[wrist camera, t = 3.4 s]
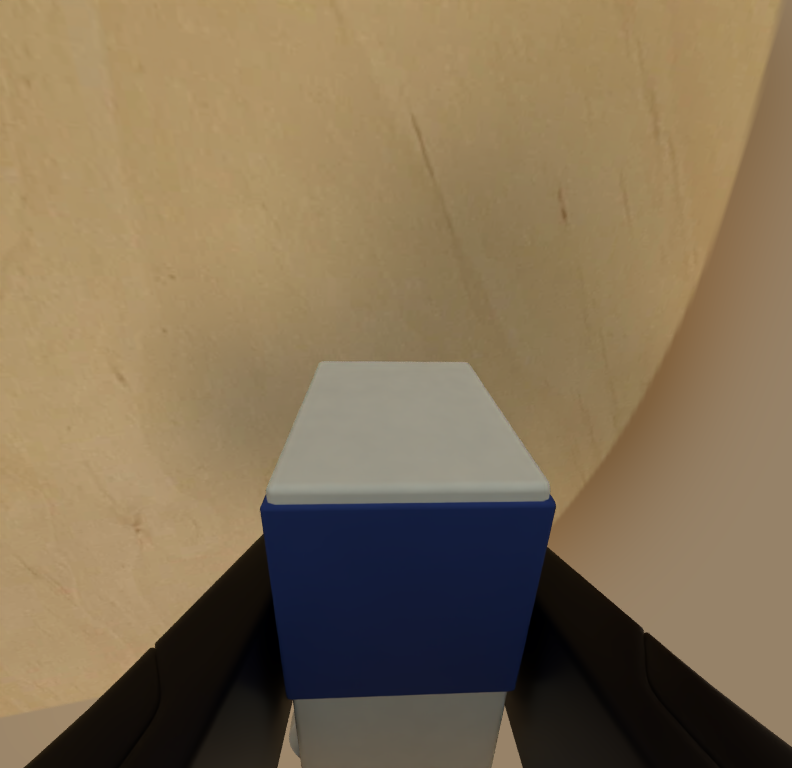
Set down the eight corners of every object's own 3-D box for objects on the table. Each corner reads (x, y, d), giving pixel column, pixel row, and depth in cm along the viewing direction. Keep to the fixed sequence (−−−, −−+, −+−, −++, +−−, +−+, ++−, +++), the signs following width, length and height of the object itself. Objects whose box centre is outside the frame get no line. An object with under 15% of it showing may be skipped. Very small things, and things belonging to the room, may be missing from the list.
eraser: (448, 578, 10) (492, 792, 6) (329, 580, 10) (299, 803, 6) (472, 359, 8) (563, 488, 4) (316, 358, 8) (254, 491, 4)
